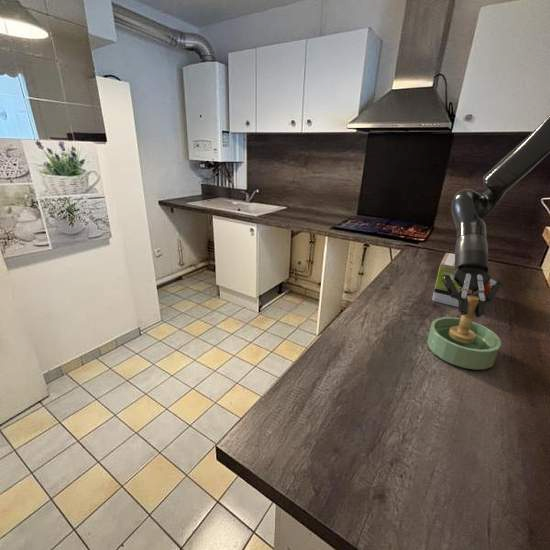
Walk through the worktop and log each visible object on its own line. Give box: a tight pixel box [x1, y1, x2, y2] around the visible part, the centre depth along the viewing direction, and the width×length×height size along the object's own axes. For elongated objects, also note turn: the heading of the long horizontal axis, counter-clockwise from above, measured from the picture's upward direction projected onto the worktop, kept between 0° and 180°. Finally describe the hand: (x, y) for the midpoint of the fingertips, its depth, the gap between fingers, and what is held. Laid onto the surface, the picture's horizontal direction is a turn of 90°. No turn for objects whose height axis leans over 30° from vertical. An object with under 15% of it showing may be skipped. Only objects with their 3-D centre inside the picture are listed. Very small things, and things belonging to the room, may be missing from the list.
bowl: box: [426, 316, 502, 370], centre depth 77 cm, size 16×16×6 cm
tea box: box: [432, 252, 469, 308], centre depth 105 cm, size 15×10×15 cm
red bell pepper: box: [471, 283, 491, 296], centre depth 107 cm, size 6×6×8 cm
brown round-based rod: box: [449, 294, 479, 343], centre depth 76 cm, size 6×6×12 cm
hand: (471, 315), depth 74 cm, fingers closed on brown round-based rod, 2 cm apart
